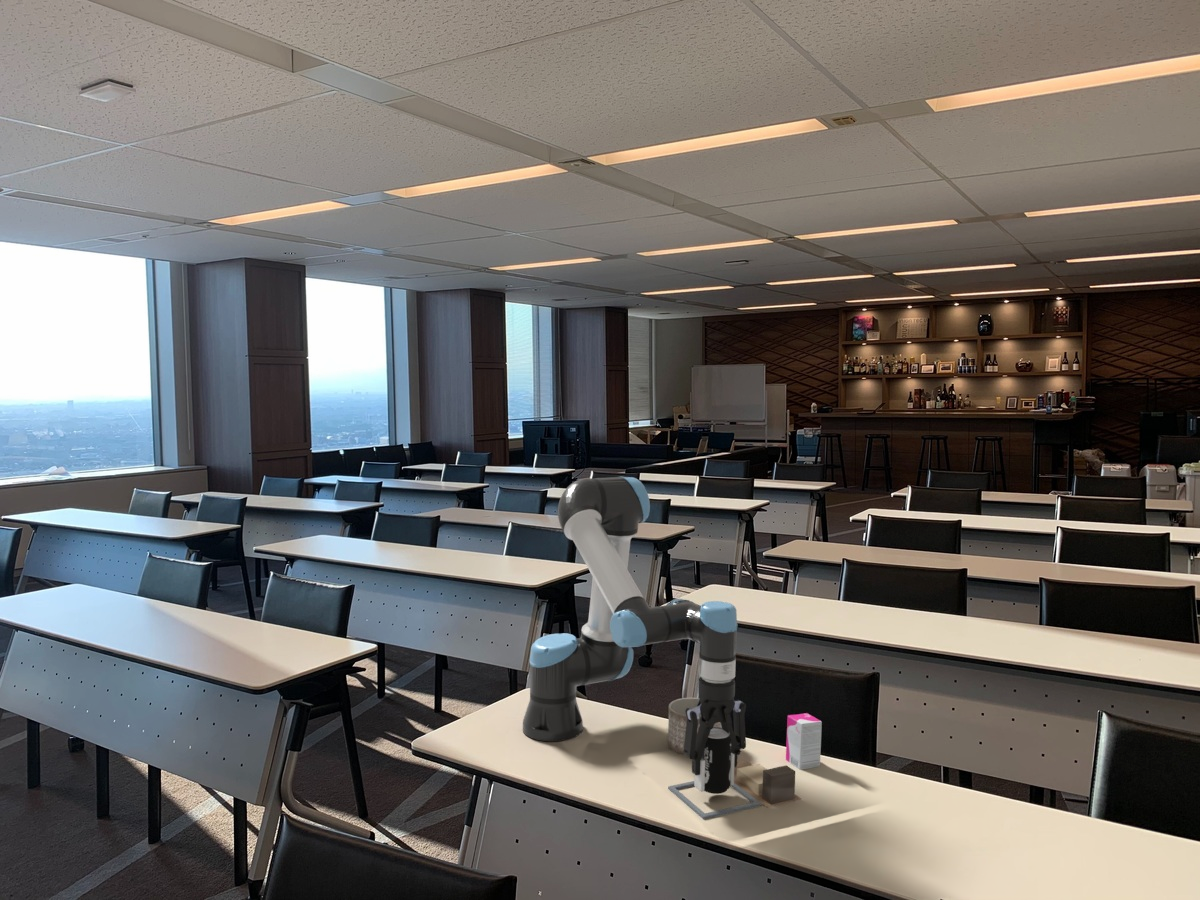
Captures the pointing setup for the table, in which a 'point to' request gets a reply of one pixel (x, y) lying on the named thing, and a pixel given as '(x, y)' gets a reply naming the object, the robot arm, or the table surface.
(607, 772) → the table surface
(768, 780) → the brown boxy piece
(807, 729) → the supplement box
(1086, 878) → the table surface
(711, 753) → the beverage can
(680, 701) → the planter
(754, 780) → the beige wooden block
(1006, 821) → the table surface
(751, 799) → the picture frame
